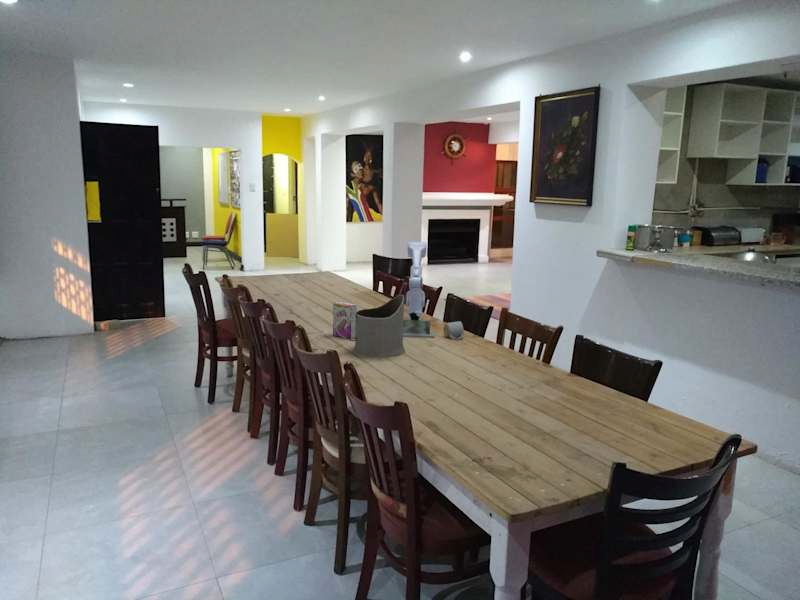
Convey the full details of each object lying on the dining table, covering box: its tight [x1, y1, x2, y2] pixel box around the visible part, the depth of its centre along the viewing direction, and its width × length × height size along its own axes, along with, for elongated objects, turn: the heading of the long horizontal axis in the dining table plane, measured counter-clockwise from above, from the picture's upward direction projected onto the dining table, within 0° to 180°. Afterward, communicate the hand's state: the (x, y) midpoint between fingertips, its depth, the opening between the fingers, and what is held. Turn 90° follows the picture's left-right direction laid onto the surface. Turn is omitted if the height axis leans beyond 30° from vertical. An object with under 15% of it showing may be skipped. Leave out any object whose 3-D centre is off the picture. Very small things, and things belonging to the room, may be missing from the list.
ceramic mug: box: [443, 321, 464, 341], centre depth 299 cm, size 11×8×8 cm
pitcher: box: [334, 294, 406, 359], centre depth 269 cm, size 23×32×25 cm
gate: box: [403, 319, 431, 332], centre depth 303 cm, size 14×1×6 cm, turn 88°
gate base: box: [403, 321, 435, 339], centre depth 301 cm, size 8×20×7 cm, turn 89°
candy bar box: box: [332, 301, 358, 340], centre depth 295 cm, size 11×5×16 cm, turn 58°
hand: (414, 327), depth 305 cm, fingers closed, pressing on gate
